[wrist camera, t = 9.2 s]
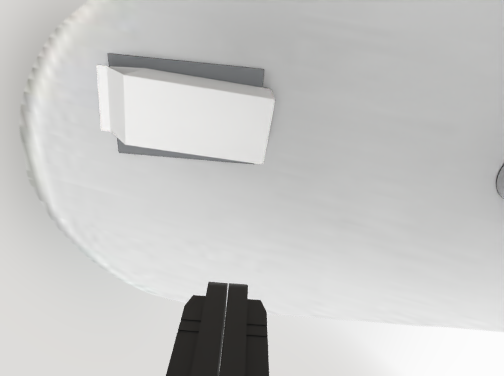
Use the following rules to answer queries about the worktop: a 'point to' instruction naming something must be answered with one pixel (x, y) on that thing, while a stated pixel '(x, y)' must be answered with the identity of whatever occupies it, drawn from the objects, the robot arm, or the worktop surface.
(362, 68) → the worktop surface
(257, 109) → the milk carton
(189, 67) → the mat
